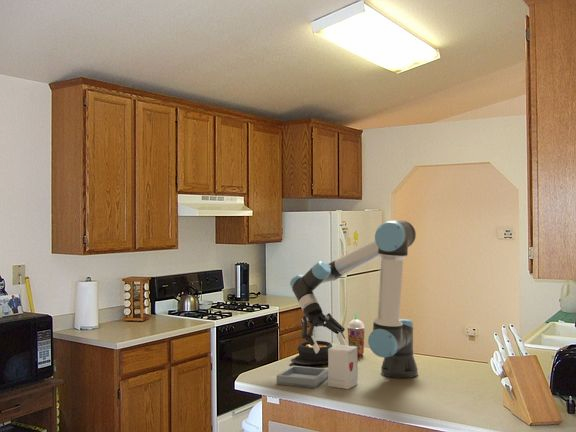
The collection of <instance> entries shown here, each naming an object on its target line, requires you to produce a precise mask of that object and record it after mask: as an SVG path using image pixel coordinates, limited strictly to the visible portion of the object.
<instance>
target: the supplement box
mask: <svg viewBox="0 0 576 432" xmlns="http://www.w3.org/2000/svg"><path fill="white" fill-rule="evenodd" d="M327 366H328V368H327V369H328V379H327V380H328V383H327V384H328V385H327V386H328V387H332V388H339V389H344V390H349V389H351V388H353V387H354V386H356V385H358V384H359V383H358V381H359V380H358V379H359V378H358V373H359V372H358V369H359V368H358V357H357V347H355V346H349V345H348V344H347V345H341V344H335V345H332V347H331V348H329V349H328V363H327Z"/></svg>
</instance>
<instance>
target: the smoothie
mask: <svg viewBox="0 0 576 432" xmlns="http://www.w3.org/2000/svg"><path fill="white" fill-rule="evenodd" d="M354 317H355V318H354V319H352V320H351V321H349V323H348V325H347V327H346V328H347V339H348V341H347V342H348V346H355V347H357V358H359V357H362V356H364V349H365V333H366V332H365V328H366V327H365V324H364V322H363V321H361V320H360V319H358V318H357V317H358V316H357V313H355V314H354Z"/></svg>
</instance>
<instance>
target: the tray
mask: <svg viewBox="0 0 576 432" xmlns="http://www.w3.org/2000/svg"><path fill="white" fill-rule="evenodd" d="M327 380H328V368H321V367H311V366H302V365H301V366H300V365H291V366H290V367H287V369H284V370H283V371H281V372H280V373H278V374H276V385H280V386H291V387H298V388H306V389H317V388H318V387H319V386H321V384H323V383H324V382H325V381H327Z"/></svg>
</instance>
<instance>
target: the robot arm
mask: <svg viewBox="0 0 576 432" xmlns="http://www.w3.org/2000/svg"><path fill="white" fill-rule="evenodd" d="M416 235H417V233H416V229H415V227H414V225H413V224H412V223H410V222H409V221H406V220H389V221H386V222H383V223H382V224H380V225H378V228H376V230H375V233H374V240H372V241H370V242H368V243H365V244H364V245H361V246H360V247H358V248H355V249H354V250H352V251H350V252H348V253H347V254H345V255H343V256H341V257H339V258H337V259H335V260H333V261H331V262H329V263H326V262H325V261H323V260H320V261H317V263H315V264H314V265H312V266H311V268H309V270H308V271H307V272H306V273H305V274H304V275H303V274H298V275H296V276H294V277H292V278H291V280H290V282H289V285H290V286H291V289H292V290H291V292H292V293H293V294H294V296H295V298H296V300H297V302H298V304H299V306H300V308H301V310H302V313H303V316H302V318H301V320H300V321H301V324H302V325H301V327H302V328H301V339H302V340H305V342H306V341H309V344H310V345H311V346H312V347H313V349H314V351H315V353H318V352H319V350H320V349H319V346H318V344H317V342H316V341H317V340H316V338H315V336H314V335H312V334H313V332H314V328H317V327H323V328H327V329H328V330H330V331H331V332H333V333H334V334H336V338H337V340H338V341H339V343H340V344H339V345H347V346H348V343H347V341H346V339H345V338H346V337H345V335H344V331H345V330H346V329H345V328H346V327H345V328H344V326H343V325H341V324H340V323H339V322H338V320H336V319H335V318H334V317H333V316H332V314H331V313H327V314H324V313H323V309H322V307H321V305H320V303H319V301H318V300H317V297H316V296H315V293H314V290H315V289H316V288H318V287H319V286H320V285H321V284H322V283H323V284H324V283H327V282H331V281H332V282H333V281H337V280H338V279H340V278H341V277H343V276H345V275H347V274H348V273H351V272H353V271H354V270H356V269H358V268H361V267H362V266H364V265H367V264H369V263H371V262H373V261H375V260H376V259H378V258H380V260H381V261H380V272H379V273H380V275H379V276H380V278H379V290H378V292H379V293H378V303H377V304H378V305H377V306H378V307H377V317H376V318H375V319H374V320H373V325H372V331H371V332H370V334H369V336H368V339H367V340H368V341H367V344H368V346H369V349H370V350H371V351H372V353H373V354H374V355H375V356H377V357H379V358H383V361H382V365H381V372H380V373H381V374H382V375H383V376H385V377H388V378H394V379H409V378H413V377H417V376H418V374H419V369H418V368H419V367H418V365H417V363H416V359H415V356H414V325H413V321H412V320H411V319H406V318H400V312H401V300H402V299H401V298H402V282H403V280H402V279H403V269H404V268H403V267H404V260H405V259H406V258H407V256H408V250H409V247H411V246H412V245H413V244H414V242H415V241H416V238H417V237H416ZM308 323H309V324H310V325H309V329H308Z"/></svg>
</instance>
